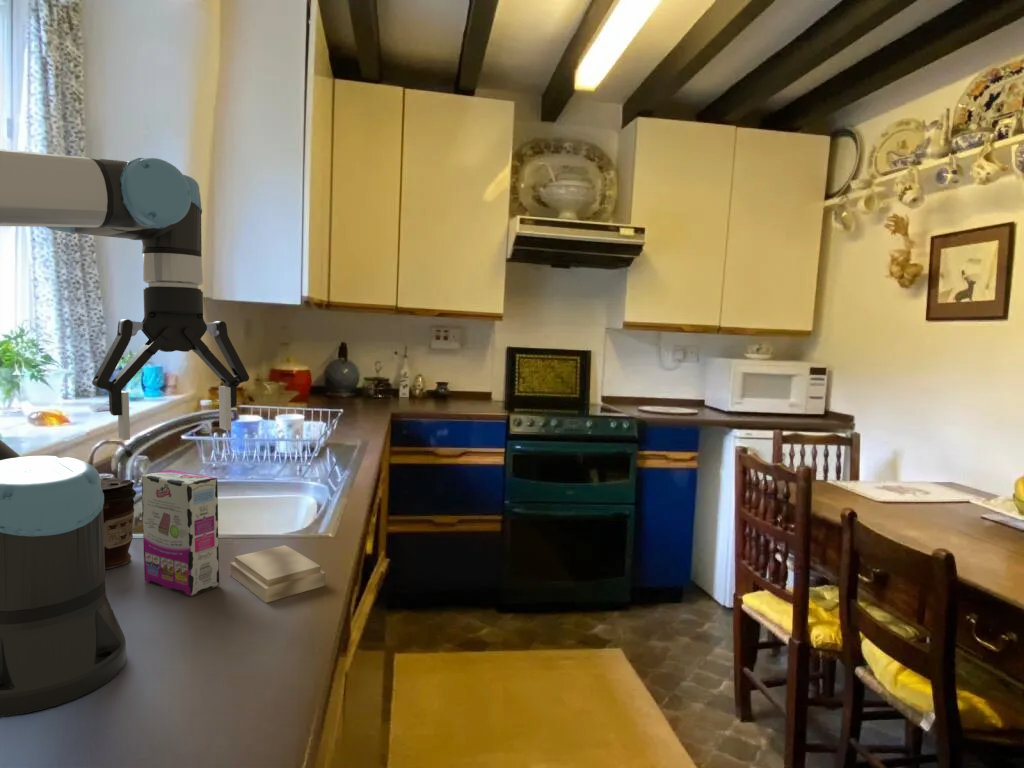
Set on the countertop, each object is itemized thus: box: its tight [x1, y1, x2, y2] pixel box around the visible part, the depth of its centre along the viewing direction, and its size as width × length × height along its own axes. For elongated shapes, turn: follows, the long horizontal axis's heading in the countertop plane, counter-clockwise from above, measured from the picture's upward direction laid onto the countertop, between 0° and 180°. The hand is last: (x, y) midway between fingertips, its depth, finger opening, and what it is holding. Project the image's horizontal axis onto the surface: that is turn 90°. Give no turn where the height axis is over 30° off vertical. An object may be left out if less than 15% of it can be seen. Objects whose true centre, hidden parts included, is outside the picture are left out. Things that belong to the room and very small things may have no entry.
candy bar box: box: [141, 469, 220, 597], centre depth 95 cm, size 11×5×16 cm, turn 62°
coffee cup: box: [100, 478, 137, 570], centre depth 103 cm, size 9×8×13 cm
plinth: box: [229, 544, 326, 603], centre depth 98 cm, size 9×13×3 cm
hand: (177, 433), depth 94 cm, fingers open, 13 cm apart
